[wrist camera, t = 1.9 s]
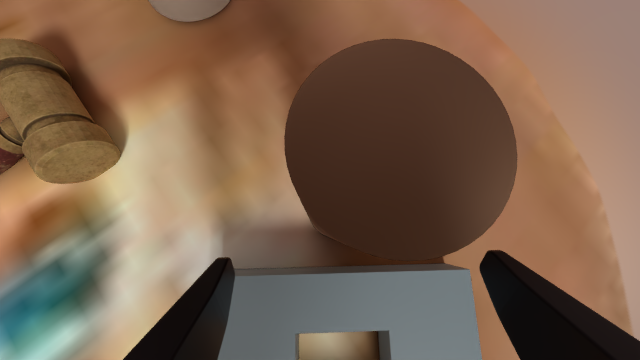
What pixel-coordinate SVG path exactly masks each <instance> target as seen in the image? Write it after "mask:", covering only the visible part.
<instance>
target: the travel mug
mask: <svg viewBox="0 0 640 360" xmlns="http://www.w3.org/2000/svg"><path fill="white" fill-rule="evenodd" d="M148 1H149V2H150V3H151V5H152V6H153V7H154V9H155V10H156V11H158V12H159V13H160V14H162V15H163V16H165V17H167V18H170V19H173V20H177V21H184V22H191V21H199V20H203V19H206V18H209V17H211V16H213V15H215V14H216V13H218V12H219V11H221V10H222V9H223V8H224V7H225V6H226V5H227V4H228V3H229V1H230V0H148Z"/></svg>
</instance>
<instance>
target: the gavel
mask: <svg viewBox="0 0 640 360" xmlns="http://www.w3.org/2000/svg"><path fill="white" fill-rule="evenodd" d="M0 102H1V103H2V105H3V107H4V108H5V110H6V112H7V114H8V115H9V117H8V118H6V119H5V120H3V121H2V122H1V123H0V174H1V173H3V172H4V171H6V170H7V169H9V168H10V167H11V166H13V165H14V164H15V163H16V162H17V161H18V160H19V159H20V158H21V157H22V156H23V154H24V155H25V157H26V158H27V160H28V162H29V164H30V165H31V167H32V169H33V170H34V172H35V174H36V175H37V177H39V178H40V179H41V180H44V181H46V182H50V183H58V184H68V183H78V182H83V181H87V180H90V179H93V178H96V177H98V176H99V175H101V174H102V173H104V172H105V171H107V170H108V169H110V168H111V167H113V166H114V165H115V164H116V163H117V162H118V160H119V159H120V151H119V150H118V148H117V146H116V145H115V143H114V142H113V140H112V139H111V137H110V136H109V134H108V133H107V131H106V130H105V129H103V128H102V127H100V126H98V125H96V124H95V122H94V121H93V119H92V118H91V116H90V115H89V113H88V112H87V110H86V108H85V107H84V105H83V104H82V102H81V101H80V99H79V98H78V96H77V95H76V93H75V92H74V90H73V89H72V81H71V78H70V76H69V74H68V73H67V71H66V70H65V68H64V67H63V65H62V64H61V62H60V61H59V59H58V58H57V57H56V56H55V55H54V54H53V53H52V52H51V51H49V50H48V49H46V48H44V47H43V46H41V45H38V44H35V43H33V42H29V41H25V40H20V39H0Z"/></svg>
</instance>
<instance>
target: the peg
mask: <svg viewBox="0 0 640 360" xmlns="http://www.w3.org/2000/svg"><path fill="white" fill-rule="evenodd" d="M285 156H286V162H287V168H288V171H289V174H290V177H291V180H292V183H293V185H294V187H295V189H296V192H297V194H298V196H299V198H300V200H301V202H302V204H303V206H304V208H305V210H306V212H307V214H308V217H309V219H310V221H311V223H312V225H313V226H314V227H315V229H316V230H317V231H318V232H320V233H321V234H323V235H325V236H327V237H329V238H332V239H334V240H336V241H339V242H341V243H343V244H345V245H348V246H350V247H352V248H354V249H357V250H359V251H362V252H364V253H367V254H370V255H373V256H376V257H381V258H385V259H390V260H401V261H418V260H427V259H432V258H437V257H442V256H444V255H447V254H450V253H453V252H456V251H458V250H459V249H461V248H463V247H465V246H467V245H469V244H470V243H472V242H473V241H474V240H476V239H477V238H479V237H480V236H481V235H483V234H484V233H485V232H486V230H487V229H488V228H489V227H490V226H491V225H492V224H493V223H494V222H495V221H496V219H497V218H498V217H499V215H500V214H501V212H502V211H503V209H504V207H505V205H506V203H507V201H508V199H509V197H510V194H511V191H512V188H513V185H514V181H515V176H516V170H517V147H516V139H515V135H514V130H513V126H512V124H511V121H510V118H509V115H508V113H507V111H506V109H505V107H504V105H503V103H502V101H501V100H500V98H499V97H498V95H497V94H496V92H495V91H494V89H493V88H492V87H491V86H490V85H489V83H488V82H487V81H486V80H485V79H484V78H483V77H482V76H481V75H480V74H479V73H478V72H477V71H476V70H475V69H474V68H472V67H471V66H470V65H468V64H467V63H466V62H464V61H463V60H461V59H460V58H458V57H456V56H454V55H453V54H451V53H449V52H447V51H445V50H442V49H440V48H438V47H435V46H432V45H429V44H425V43H422V42H417V41H412V40H402V39H381V40H374V41H368V42H364V43H360V44H357V45H354V46H351V47H349V48H346V49H344V50H342V51H340V52H338V53H336V54H335V55H333V56H331V57H330V58H328V59H327V60H326V61H324V62H323V63H322V64H320V65H319V66H318V67H317V68H316V69H315V70H314V71H313V72H312V73H311V74H310V75H309V76H308V78H307V79H306V80H305V82H304V83H303V84H302V85H301V87H300V89H299V91H298V92H297V94H296V96H295V98H294V100H293V103H292V105H291V107H290V110H289V114H288V118H287V122H286V129H285Z"/></svg>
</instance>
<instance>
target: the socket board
mask: <svg viewBox="0 0 640 360" xmlns="http://www.w3.org/2000/svg"><path fill="white" fill-rule="evenodd" d="M234 271H235V281H234V287H233V293H232V299H231V305H230V311H229V317H228V323H227V327H226V331H225V334H224V338H223V342H222V345H221V349H220V353H219V356H218V360H299V333H328V332H358V331H378V339H379V354H380V360H482V356H481V349H480V341H479V334H478V327H477V320H476V312H475V305H474V298H473V291H472V283H471V276H470V270H469V269H465V268H461V267H457V266H453V265H449V264H445V263H442V264H407V265H371V266H336V267H300V268H265V269H234Z"/></svg>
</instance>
